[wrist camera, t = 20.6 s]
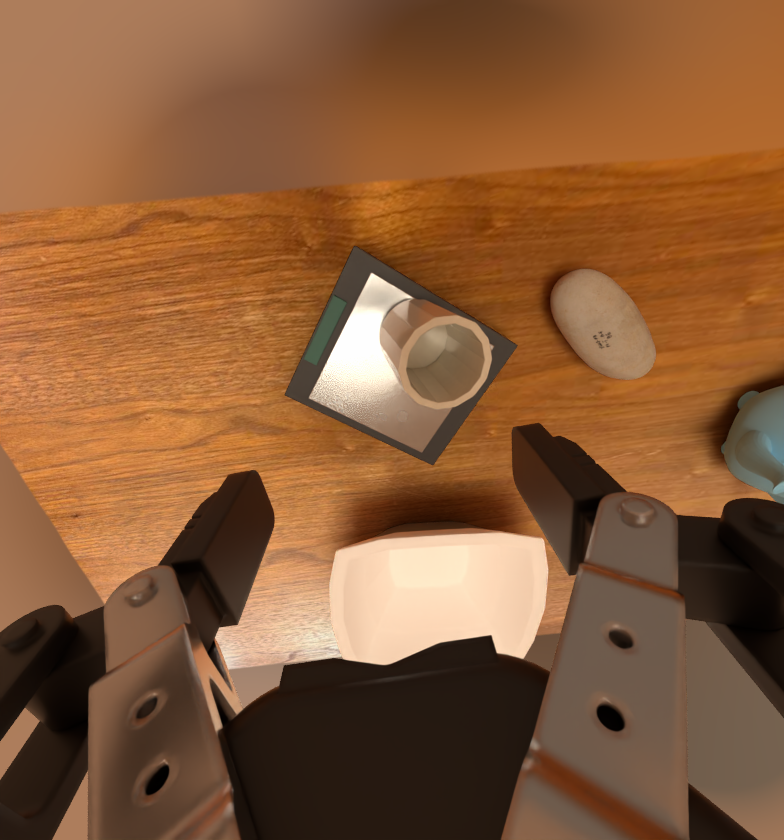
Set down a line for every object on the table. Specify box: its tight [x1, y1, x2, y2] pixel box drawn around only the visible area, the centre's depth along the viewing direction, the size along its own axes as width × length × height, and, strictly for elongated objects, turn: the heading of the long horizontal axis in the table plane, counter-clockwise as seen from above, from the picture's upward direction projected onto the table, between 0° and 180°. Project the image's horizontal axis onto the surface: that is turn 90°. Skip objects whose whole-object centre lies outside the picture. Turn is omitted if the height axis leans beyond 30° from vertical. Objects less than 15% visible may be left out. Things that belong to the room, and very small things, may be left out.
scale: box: [285, 246, 518, 465], centre depth 33 cm, size 16×14×3 cm
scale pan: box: [308, 272, 494, 453], centre depth 31 cm, size 12×12×1 cm
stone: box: [550, 269, 656, 380], centre depth 31 cm, size 6×6×12 cm
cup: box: [380, 299, 492, 409], centre depth 26 cm, size 6×6×8 cm
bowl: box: [329, 521, 548, 665], centre depth 41 cm, size 22×23×8 cm
